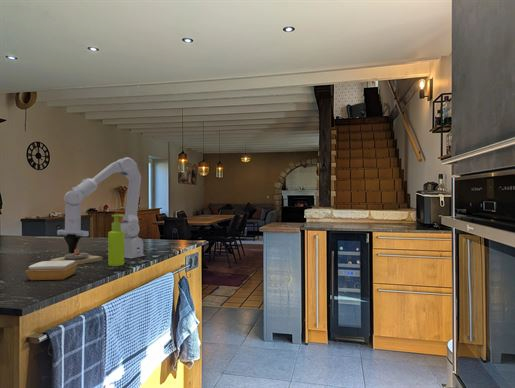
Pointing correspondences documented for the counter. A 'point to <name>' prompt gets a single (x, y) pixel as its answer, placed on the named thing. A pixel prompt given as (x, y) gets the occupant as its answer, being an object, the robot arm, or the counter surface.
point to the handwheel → (76, 255)
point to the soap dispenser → (116, 243)
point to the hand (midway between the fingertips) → (72, 253)
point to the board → (79, 261)
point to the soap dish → (51, 270)
